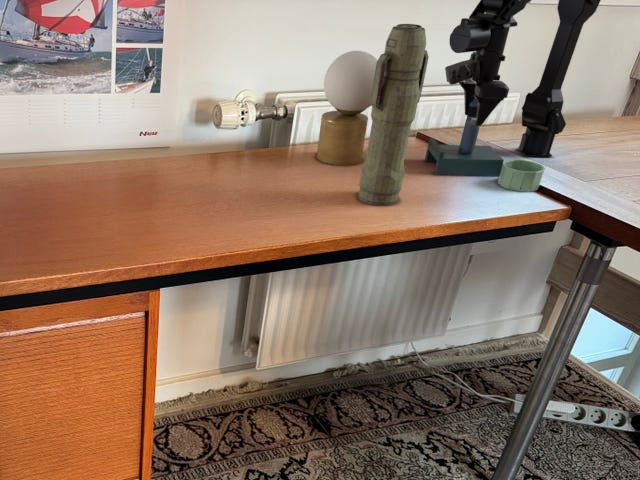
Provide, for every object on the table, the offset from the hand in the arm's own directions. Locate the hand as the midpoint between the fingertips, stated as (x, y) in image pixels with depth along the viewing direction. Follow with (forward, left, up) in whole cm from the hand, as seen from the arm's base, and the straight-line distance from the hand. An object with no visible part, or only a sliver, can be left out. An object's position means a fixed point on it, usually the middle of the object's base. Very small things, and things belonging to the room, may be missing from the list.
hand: (472, 120), depth 165 cm
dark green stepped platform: (0, 0, -12) cm, 12 cm away
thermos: (+24, +22, -12) cm, 35 cm away
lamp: (+28, -7, -12) cm, 31 cm away
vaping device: (0, 0, -8) cm, 8 cm away
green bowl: (-10, +11, -12) cm, 19 cm away
